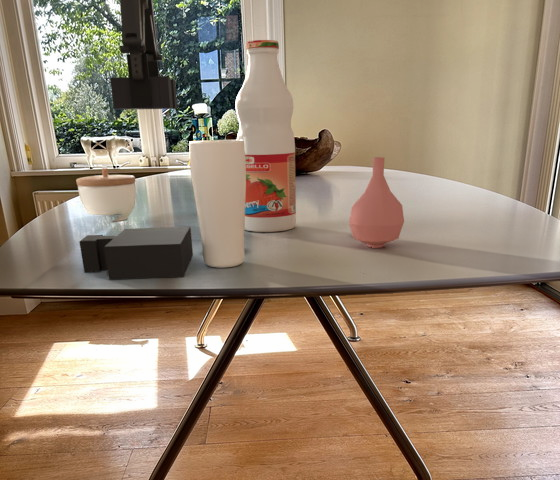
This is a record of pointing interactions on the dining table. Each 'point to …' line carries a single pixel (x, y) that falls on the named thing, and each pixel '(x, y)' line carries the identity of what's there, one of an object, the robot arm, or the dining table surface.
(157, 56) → the robot arm
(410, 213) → the dining table surface
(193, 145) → the drinking glass
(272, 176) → the fruit juice
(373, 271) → the dining table surface
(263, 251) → the dining table surface
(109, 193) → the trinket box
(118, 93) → the dark grey block
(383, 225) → the pink teardrop shaped piece
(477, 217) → the dining table surface
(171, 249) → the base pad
